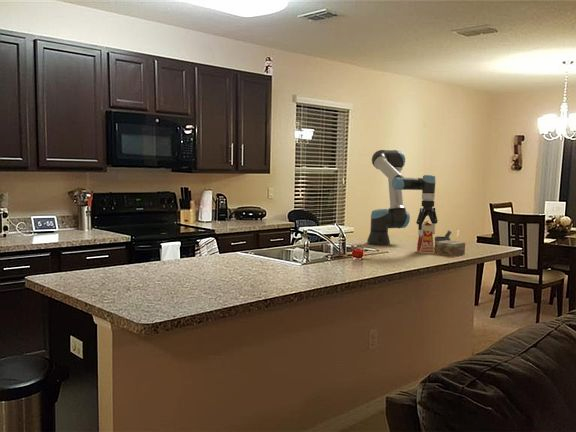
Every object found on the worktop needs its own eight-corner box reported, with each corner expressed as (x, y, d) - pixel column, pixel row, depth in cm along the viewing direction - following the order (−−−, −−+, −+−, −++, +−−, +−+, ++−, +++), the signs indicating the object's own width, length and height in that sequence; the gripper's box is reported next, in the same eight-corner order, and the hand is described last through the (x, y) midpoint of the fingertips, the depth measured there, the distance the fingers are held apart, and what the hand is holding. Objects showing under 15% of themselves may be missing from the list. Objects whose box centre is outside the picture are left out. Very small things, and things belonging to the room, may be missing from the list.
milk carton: (434, 253, 323) (436, 221, 321) (419, 253, 323) (421, 220, 321) (430, 251, 332) (432, 219, 330) (416, 250, 332) (417, 219, 330)
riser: (434, 253, 325) (434, 241, 324) (445, 251, 334) (446, 240, 333) (453, 256, 315) (454, 244, 314) (464, 254, 324) (465, 242, 323)
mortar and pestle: (431, 247, 349) (432, 229, 348) (439, 246, 355) (440, 228, 354) (446, 249, 340) (447, 231, 339) (454, 248, 346) (455, 230, 345)
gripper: (422, 200, 313) (420, 236, 315) (444, 200, 330) (442, 233, 332) (411, 200, 319) (409, 235, 320) (433, 199, 336) (432, 232, 337)
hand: (426, 234), depth 326 cm, fingers open, 13 cm apart
